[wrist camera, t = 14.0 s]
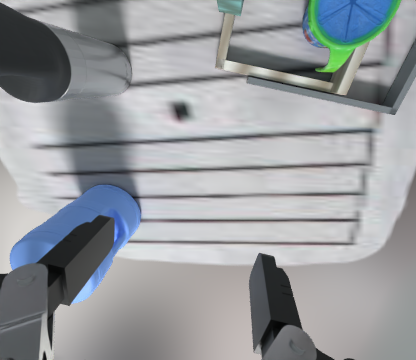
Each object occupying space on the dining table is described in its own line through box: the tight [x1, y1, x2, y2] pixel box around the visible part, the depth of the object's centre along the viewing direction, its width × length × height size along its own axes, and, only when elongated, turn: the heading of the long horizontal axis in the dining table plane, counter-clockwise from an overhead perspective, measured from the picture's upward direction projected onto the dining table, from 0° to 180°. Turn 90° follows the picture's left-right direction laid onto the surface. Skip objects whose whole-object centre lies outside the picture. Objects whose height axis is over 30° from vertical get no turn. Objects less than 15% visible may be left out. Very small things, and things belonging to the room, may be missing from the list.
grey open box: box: [215, 0, 370, 95], centre depth 29 cm, size 23×20×14 cm
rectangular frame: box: [247, 40, 416, 115], centre depth 34 cm, size 26×22×3 cm
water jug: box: [10, 185, 141, 303], centre depth 44 cm, size 16×16×28 cm
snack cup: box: [302, 0, 401, 72], centre depth 31 cm, size 16×11×10 cm
